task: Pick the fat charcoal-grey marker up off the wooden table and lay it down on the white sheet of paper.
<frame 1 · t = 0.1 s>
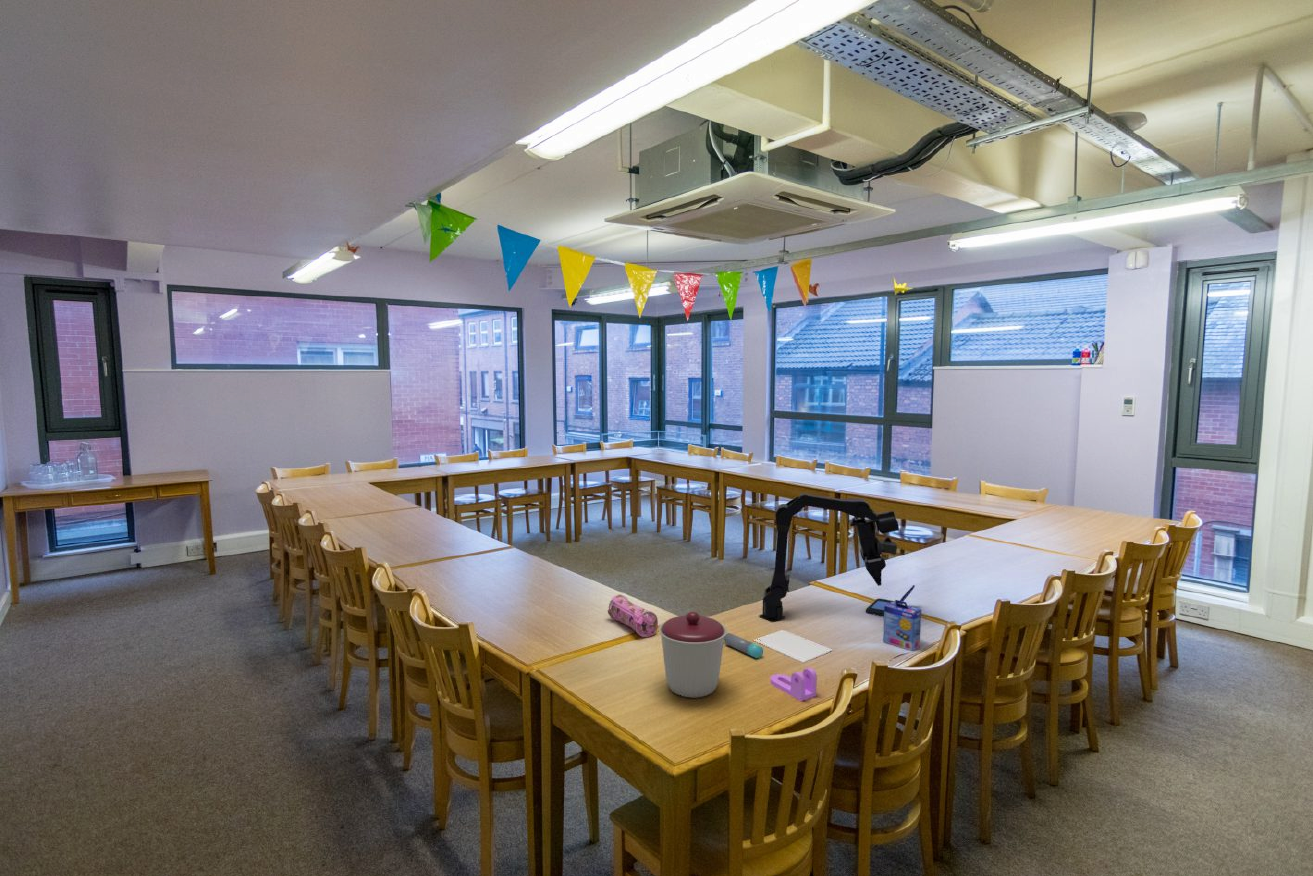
hand: (877, 581, 213), 15 cm above the table, tool pointing down, fingers open, 9 cm apart
handheld game console: (889, 612, 229), on the table
pencil case: (632, 628, 212), on the table
canister: (692, 689, 170), on the table
bracket: (790, 690, 170), on the table
paper sheet: (792, 645, 198), on the table
marker: (739, 649, 195), on the table
ink cartridge box: (900, 645, 199), on the table
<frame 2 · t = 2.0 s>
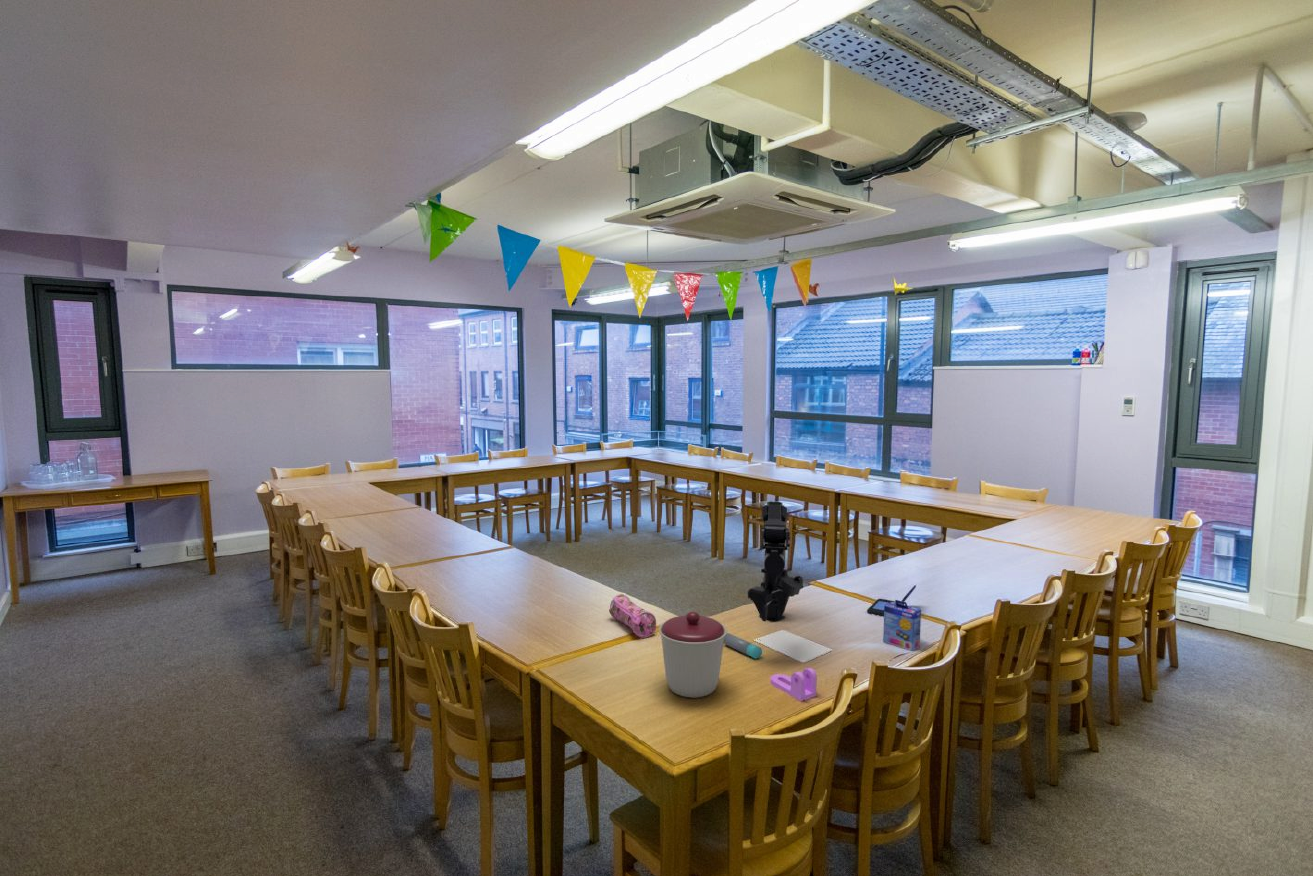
hand: (773, 617, 190), 12 cm above the table, tool pointing down, fingers open, 9 cm apart
marker: (739, 649, 195), on the table, tilted 16°
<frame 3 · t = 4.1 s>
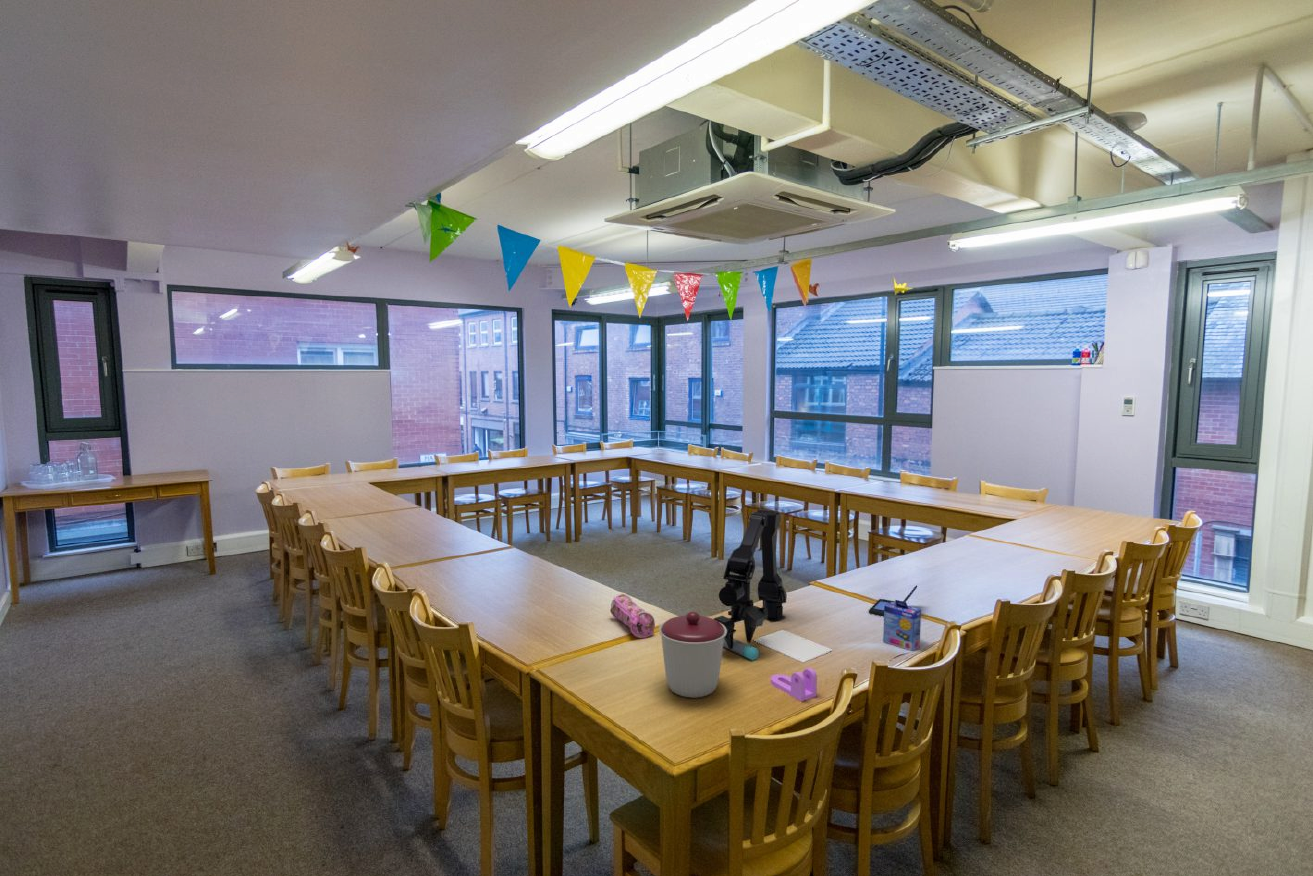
hand: (739, 645, 195), 1 cm above the table, tool pointing down, fingers open, 7 cm apart
marker: (738, 646, 195), point 1 cm above the table, tilted 63°, touching gripper
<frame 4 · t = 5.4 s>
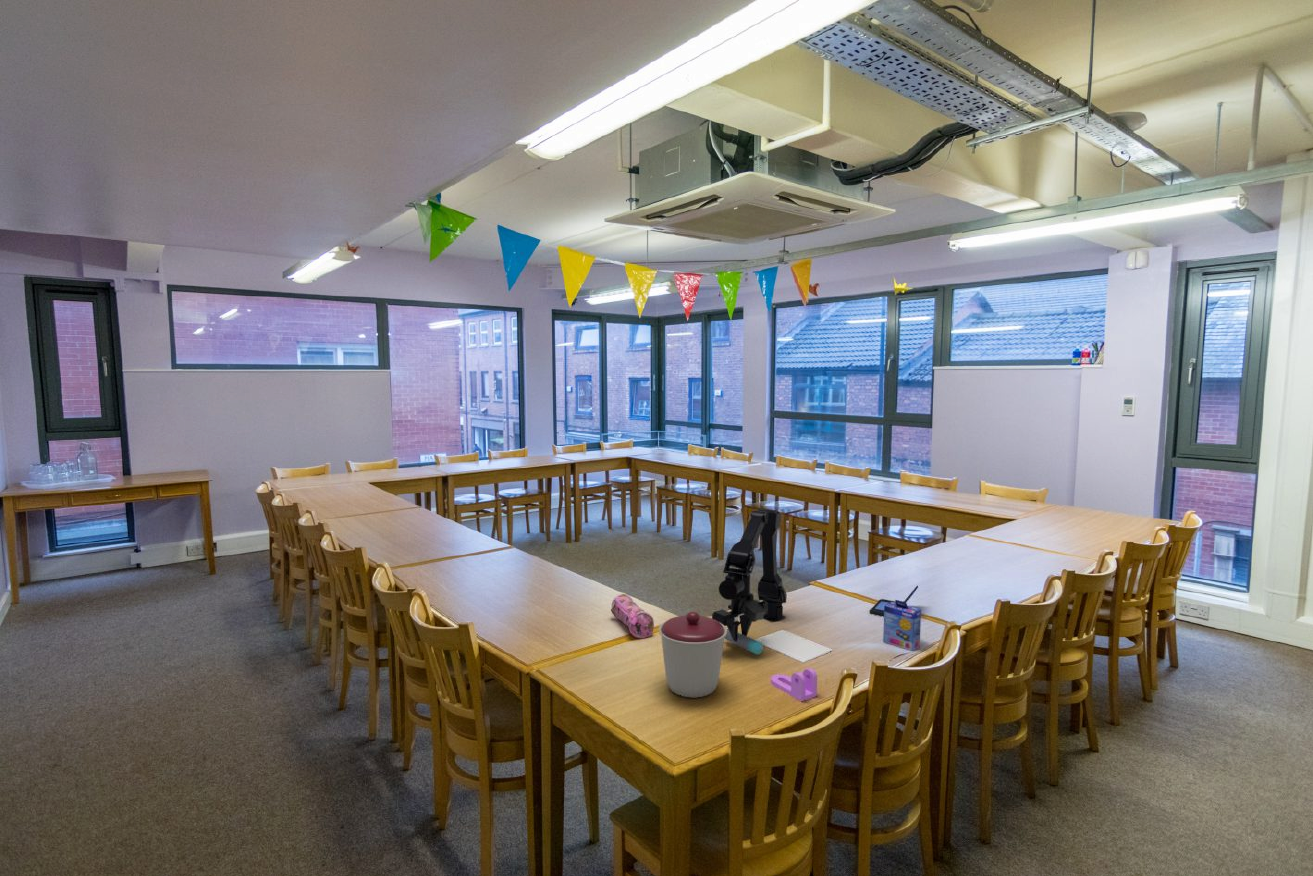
hand: (739, 639, 195), 3 cm above the table, tool pointing down, fingers closed on marker, 4 cm apart
marker: (741, 644, 195), point 1 cm above the table, tilted 24°, touching gripper
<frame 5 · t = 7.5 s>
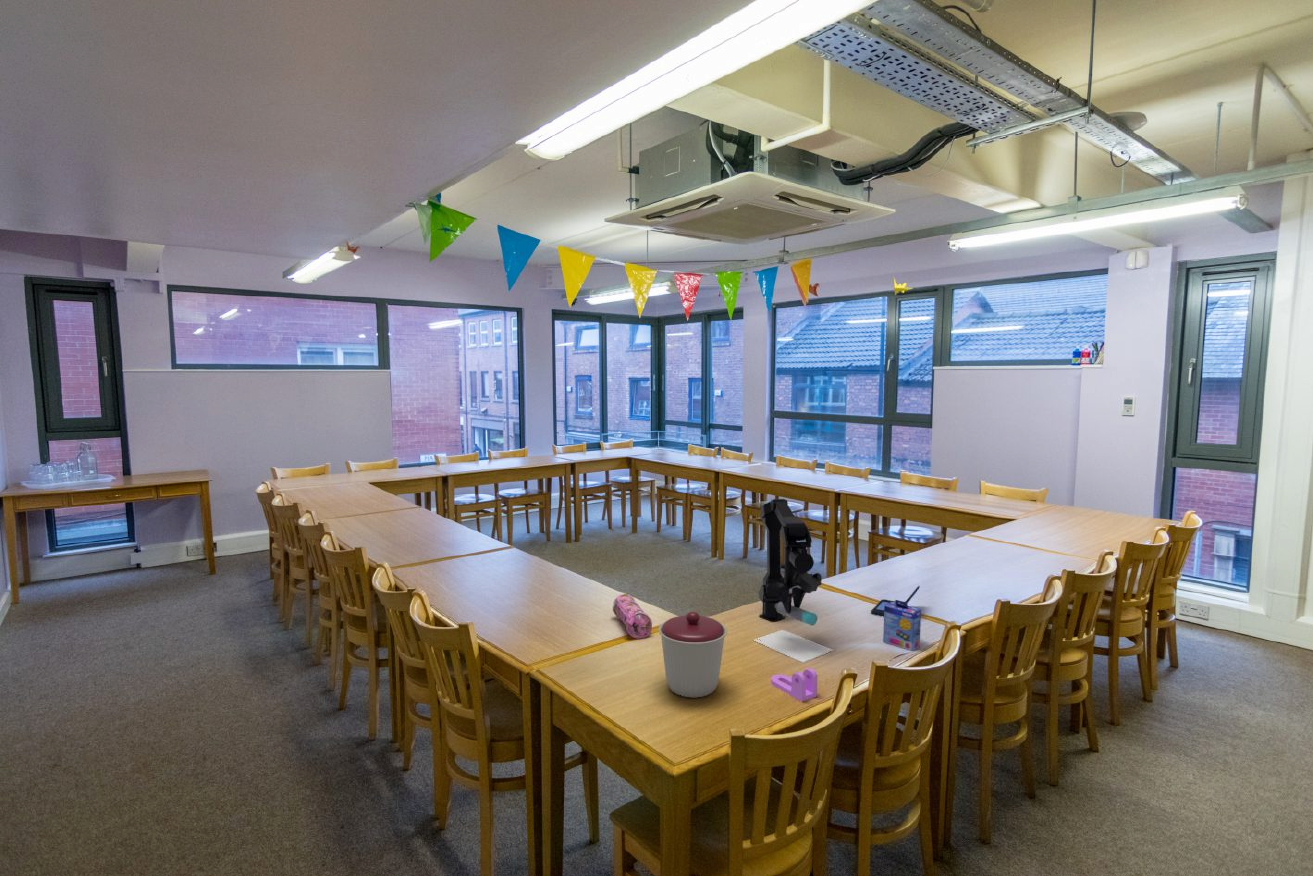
hand: (792, 611, 197), 11 cm above the table, tool pointing down, fingers closed on marker, 4 cm apart
marker: (793, 616, 197), point 9 cm above the table, tilted 24°, touching gripper
when the fingers open (3 cm above the table, at t = 9.6 s): marker stays where it is, resting on paper sheet.
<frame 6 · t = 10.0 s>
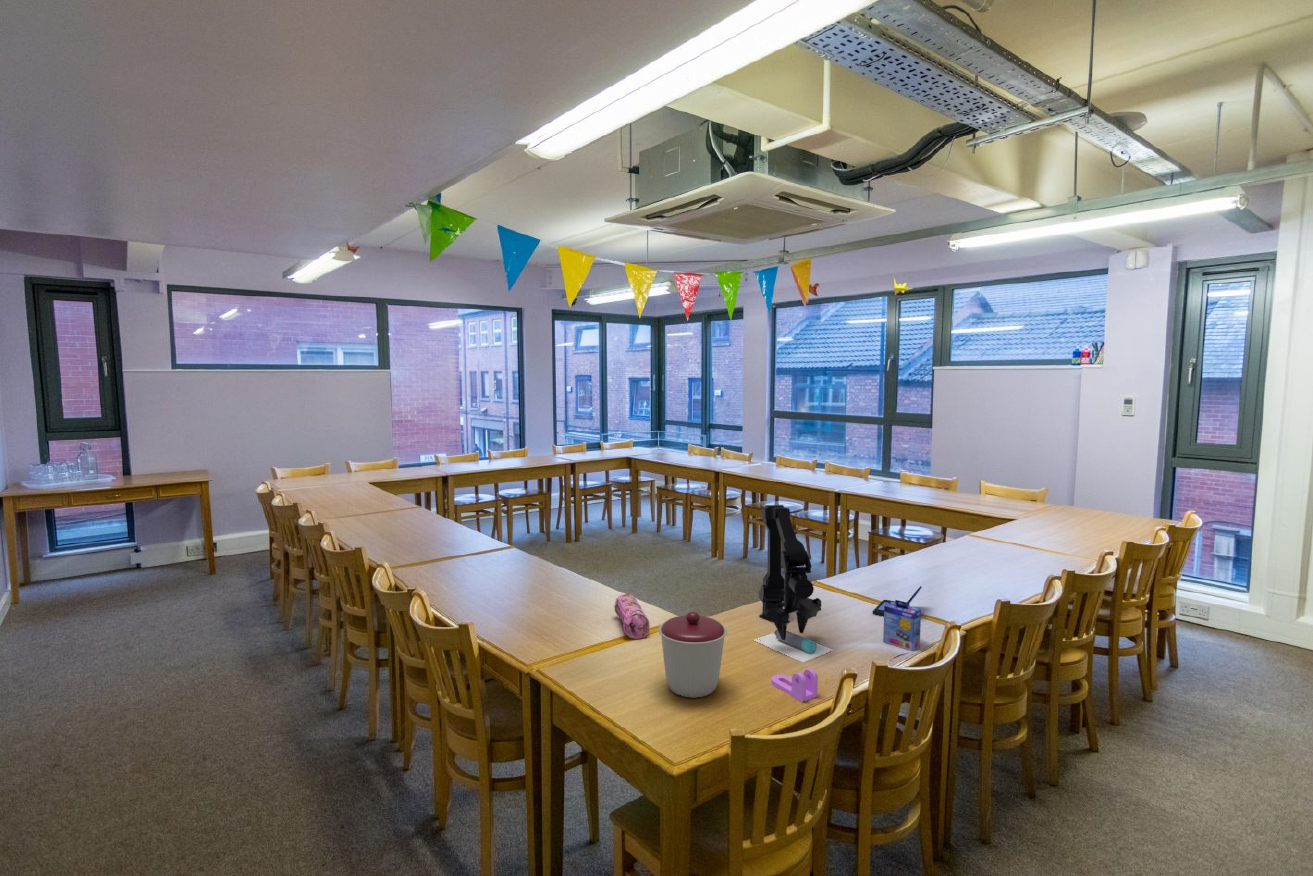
hand: (792, 636, 198), 3 cm above the table, tool pointing down, fingers open, 8 cm apart
marker: (793, 643, 198), resting on paper sheet, tilted 24°
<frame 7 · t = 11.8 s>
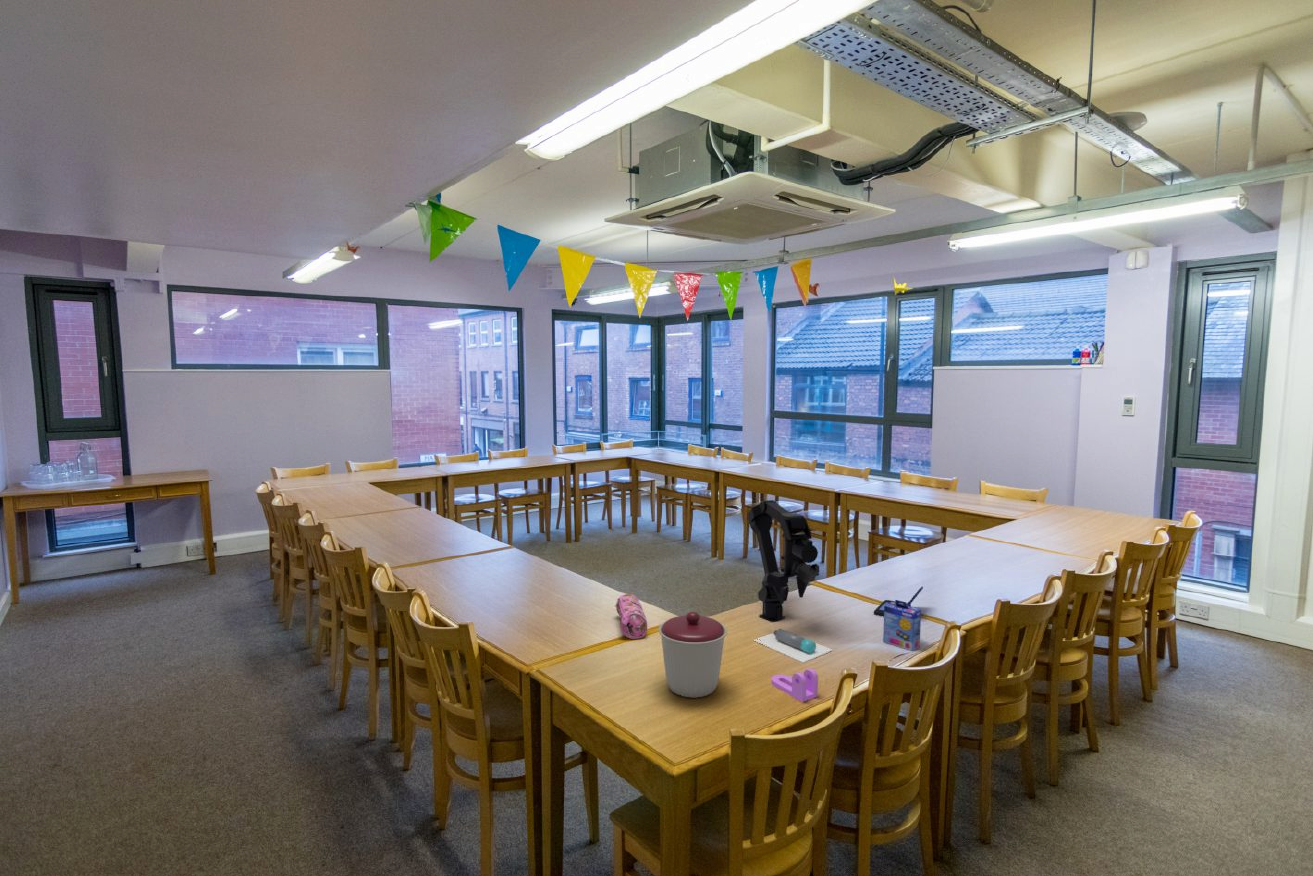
hand: (791, 600, 208), 11 cm above the table, tool pointing down, fingers open, 9 cm apart
marker: (793, 643, 198), point 1 cm above the table, tilted 35°, touching paper sheet
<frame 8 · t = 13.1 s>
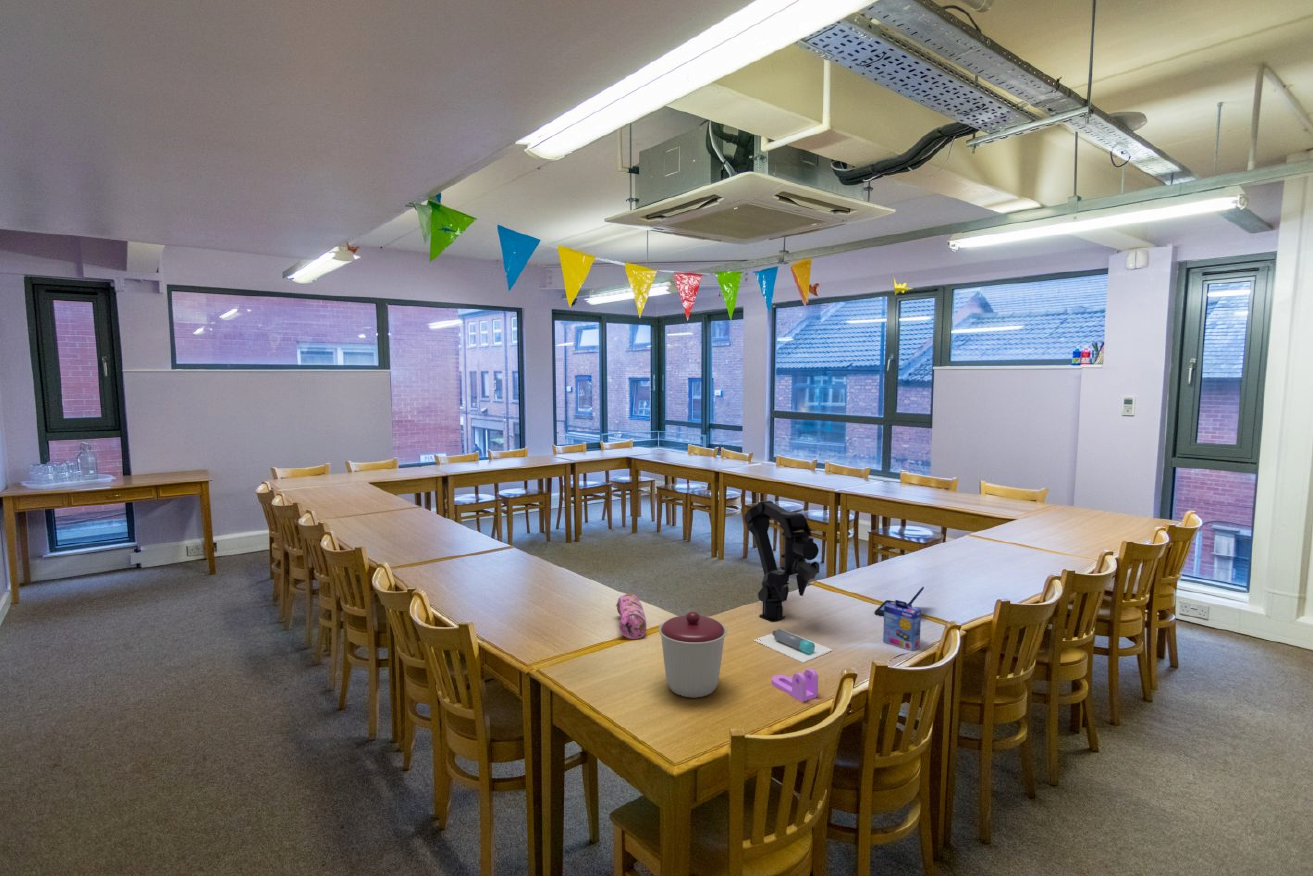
hand: (792, 598, 209), 11 cm above the table, tool pointing down, fingers open, 9 cm apart
marker: (793, 642, 198), point 1 cm above the table, tilted 51°, touching paper sheet
at the end: marker inside the target area on the paper sheet (0.5 cm from its centre), point 1.1 cm above the paper sheet's base; marker touching paper sheet; the gripper is holding nothing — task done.
